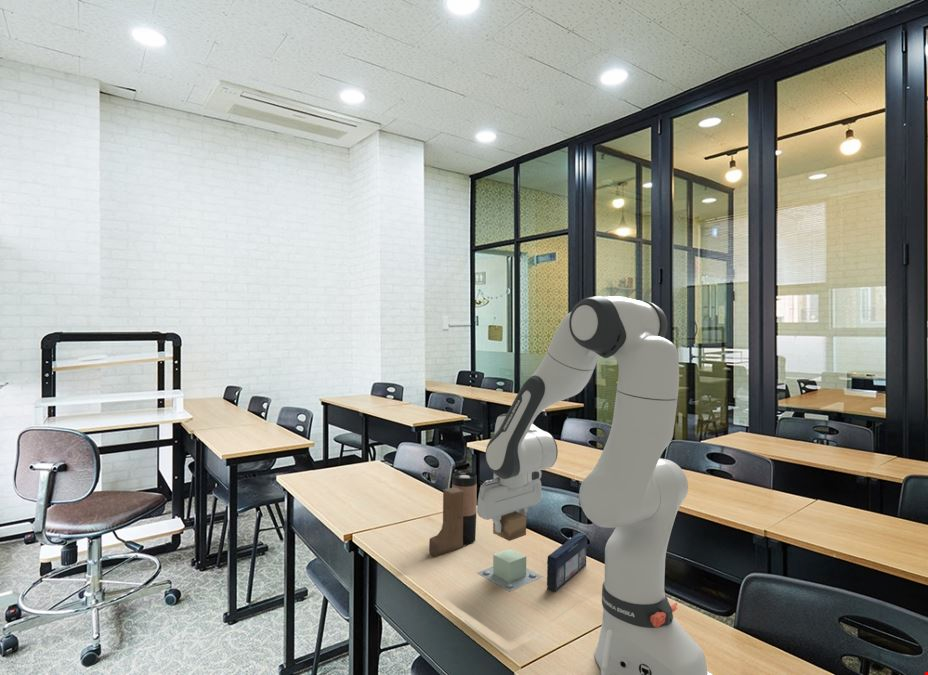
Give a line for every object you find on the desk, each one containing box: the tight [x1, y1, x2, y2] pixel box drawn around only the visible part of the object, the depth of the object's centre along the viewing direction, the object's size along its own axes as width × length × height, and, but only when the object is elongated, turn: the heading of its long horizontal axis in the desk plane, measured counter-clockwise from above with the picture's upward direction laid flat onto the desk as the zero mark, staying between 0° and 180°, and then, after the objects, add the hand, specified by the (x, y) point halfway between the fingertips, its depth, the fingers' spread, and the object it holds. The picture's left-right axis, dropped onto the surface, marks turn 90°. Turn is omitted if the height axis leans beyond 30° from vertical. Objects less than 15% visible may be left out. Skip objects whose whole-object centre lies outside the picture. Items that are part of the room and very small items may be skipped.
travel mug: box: [451, 471, 478, 545], centre depth 155 cm, size 8×8×20 cm
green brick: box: [492, 548, 527, 583], centre depth 130 cm, size 6×6×5 cm
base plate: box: [477, 566, 544, 592], centre depth 130 cm, size 12×12×2 cm
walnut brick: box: [492, 511, 527, 542], centre depth 130 cm, size 6×6×5 cm
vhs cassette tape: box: [546, 532, 588, 593], centre depth 129 cm, size 18×3×10 cm, turn 141°
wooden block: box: [428, 487, 464, 558], centre depth 145 cm, size 9×4×18 cm, turn 124°
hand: (509, 528), depth 130 cm, fingers closed on walnut brick, 6 cm apart
